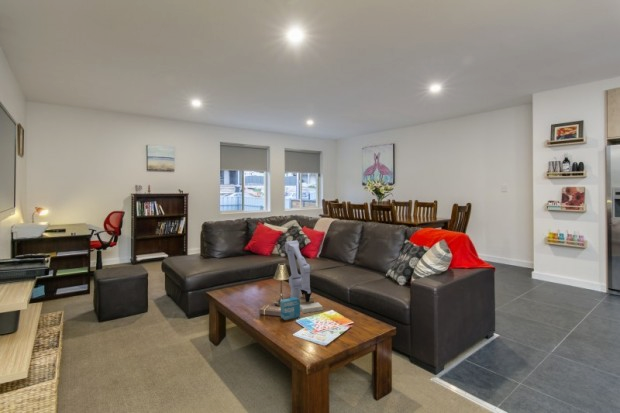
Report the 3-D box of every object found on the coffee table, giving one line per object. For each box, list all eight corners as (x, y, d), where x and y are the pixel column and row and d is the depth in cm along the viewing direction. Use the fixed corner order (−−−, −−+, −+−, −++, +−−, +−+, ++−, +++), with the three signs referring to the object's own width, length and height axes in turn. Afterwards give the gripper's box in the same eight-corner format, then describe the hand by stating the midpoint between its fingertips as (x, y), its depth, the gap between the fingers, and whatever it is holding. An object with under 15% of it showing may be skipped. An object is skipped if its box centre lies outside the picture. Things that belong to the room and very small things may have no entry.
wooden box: (298, 302, 228) (298, 297, 228) (311, 300, 232) (311, 295, 231) (300, 305, 223) (300, 299, 223) (314, 303, 226) (313, 297, 226)
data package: (283, 320, 200) (282, 302, 199) (280, 318, 204) (280, 299, 203) (300, 316, 205) (300, 298, 205) (297, 314, 209) (297, 296, 209)
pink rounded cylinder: (302, 297, 228) (302, 293, 228) (307, 297, 230) (307, 293, 230) (304, 299, 225) (304, 295, 224) (309, 298, 226) (309, 294, 226)
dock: (299, 308, 219) (299, 304, 219) (318, 305, 224) (318, 302, 224) (303, 313, 211) (303, 309, 211) (323, 310, 216) (322, 306, 215)
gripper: (297, 279, 232) (297, 297, 233) (303, 285, 218) (304, 304, 219) (306, 278, 234) (306, 296, 235) (313, 283, 221) (313, 303, 221)
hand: (306, 300), depth 227 cm, fingers closed on wooden box, 6 cm apart
